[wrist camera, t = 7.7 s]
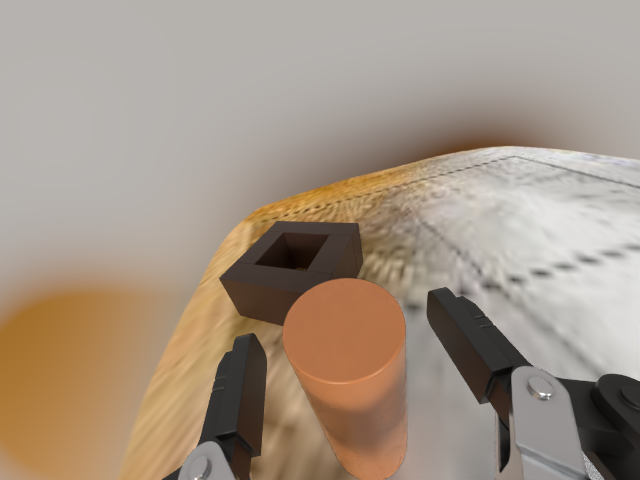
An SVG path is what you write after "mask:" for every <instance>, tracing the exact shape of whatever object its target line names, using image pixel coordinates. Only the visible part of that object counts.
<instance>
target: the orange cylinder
mask: <svg viewBox="0 0 640 480" xmlns="http://www.w3.org/2000/svg"><path fill="white" fill-rule="evenodd" d="M282 337H283V345H284V349H285V352H286V355H287V357H288V359H289V361H290V363H291V365H292V367H293V369H294V371H295V373H296V375H297V377H298V379H299V381H300V383H301V385H302V388H303V390H304V392H305V394H306V396H307V398H308V400H309V402H310V404H311V406H312V408H313V410H314V412H315V414H316V416H317V418H318V420H319V422H320V424H321V426H322V428H323V430H324V432H325V435H326V437H327V439H328V441H329V443H330V445H331V447H332V449H333V451H334V453H335V455H336V457H337V459H338V460H339V462H340V463H341V465H342V466H343V467H344V468H345V469H346V470H347V471H348V472H349V473H350V474H351V475H353V476H355V477H356V478H358V479H361V480H384V479H386V478H388V477H390V476H391V475H392V474H393V473H395V472H396V470H397V469H398V468H399V466H400V465H401V463H402V461H403V459H404V456H405V453H406V448H407V390H406V326H405V319H404V315H403V312H402V310H401V307H400V306H399V304H398V303H397V301H396V300H395V299H394V297H393V296H392V295H391V294H390V293H389V292H387V291H386V290H385V289H383V288H382V287H380V286H378V285H376V284H374V283H372V282H369V281H366V280H361V279H354V278H342V279H335V280H330V281H327V282H324V283H321V284H319V285H317V286H315V287H313V288H311V289H309V290H308V291H307V292H305V293H304V294H303V295H302V296H300V297H299V298H298V299H297V300H296V302H295V303H294V304H293V305H292V307H291V308H290V310H289V312H288V314H287V316H286V319H285V322H284V326H283V334H282Z"/></svg>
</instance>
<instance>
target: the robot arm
mask: <svg viewBox="0 0 640 480" xmlns="http://www.w3.org/2000/svg"><path fill="white" fill-rule="evenodd" d="M427 318H428V321H429V323H430V326H431V327H432V329H433V331H434V332H435V334H436V335H437V337H438V338H439V340H440V342H441V343H442V345H443V346H444V348H445V350H446V351H447V353H448V354H449V356H450V358H451V359H452V361H453V362H454V364H455V366H456V367H457V369H458V370H459V372H460V374H461V375H462V377H463V378H464V380H465V381H466V383H467V385H468V386H469V388H470V389H471V391H472V393H473V394H474V396H475V397H476V399H477V401H478V402H479V404H484V403H488V402H490V403H491V405H492V406H493V408H494V409H495V480H590V478H589V476H588V474H587V471H586V467H585V462H584V458H583V453H582V451H583V452H584V453H585V455H586V456H587V457H588V459H589V460H590V461H591V462H592V464H593V465H594V466H595V468H596V469H597V470H598V471H599V473H600V474H601V475H602V477H603V478H604V479H605V480H640V381H637V380H635V379H633V378H630V377H627V376H624V375H619V374H606V375H603V376H602V377H601V378H600V379H599V380H598V381H597V382H589V381H579V380H569V379H562V378H557V377H554V376H552V375H551V374H549V373H548V372H546V371H544V370H542V369H539V368H536V367H534V366H533V365H531V364H530V363H529V362H528V361H527V360H526V359H525V358H524V357H523V356H522V355H521V354H520V353H519V351H518V350H517V349H516V348H515V347H514V346H513V345H512V344H511V343H510V342H509V340H508V339H507V338H506V337H505V336H504V335H503V334H502V333H501V332H500V331H499V329H498V328H497V327H496V326H494V325H493V323H492V322H491V321H490V320H489V318H488V317H486V316H485V314H484V313H483V312H482V311H481V310H480V309H479V307H478V306H477V305H476V304H475V303H473V302H471V301H470V300H468V299H466V298H465V297H463V296H461V297H457V298H456V297H455V295H454V294H453V293H452V292H451V291H450V290H449V289H448V288H447V287H444V288H440V289H436V290H432V291H429V292H428V298H427ZM266 374H267V358H266V354H265V351H264V349H263V347H262V346H261V344H260V342H259V341H258V339H257V337H256V335H255V334H254V333H251V334H247V335H242V336H238V337H236V338H235V341H234V345H233V350H232V351H230V352H226V353H225V355H224V357H223V358H222V360H221V362H220V363H219V365H218V369H217V373H216V377H215V381H214V385H213V389H212V390H213V392H212V393H211V397H210V401H209V405H208V409H207V413H206V417H205V421H204V425H203V429H202V433H201V436H200V440H199V442H198V445H197V447H196V448H195V449H194V450H193V451H192V452H191V453H190V454H189V456H188V457H187V458H186V460H185V462H184V463H183V465H182V466H181V467H180V468H179V469H177V470H176V471H174V472H173V473H171V474H170V475H168V476H167V477H165V478H164V479H162V480H254V478H253V476H252V474H251V473H250V466H251V458H252V457H257V456H261V446H262V431H263V417H264V402H265V388H266Z"/></svg>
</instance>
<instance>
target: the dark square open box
mask: <svg viewBox="0 0 640 480" xmlns="http://www.w3.org/2000/svg"><path fill="white" fill-rule="evenodd" d="M362 263H363V255H362V248H361V240H360V233H359V225H358V223H327V222H289V221H277V222H276V223H275V224H274V225H273V226H272V227H271V228H270V229H269V230H268V231H267V232H266V233H265V234H264V235H263V236H261V237H260V238H259V239H258V240H257V241H256V242H255V243H254V244H253V245H252V246H251V247H250V248H249V249H248V250H247V251H246V252H245V253H244V254H243V255H242V256H241V257H240V258H239V259H238V260H237V261H236V262H235V263H234V264H233V265H232V266H231V267H230V268H229V269H228V270H227V271H226V272H225V273H224V274H223V275H222V276H221V277H220V278H219V279H220V281H221V283H222V284H223V286H224V288H225V290H226V291H227V293H228V295H229V297H230V298H231V300H232V302H233V303H234V305H235V307H236V309H237V310H238V312H239V314H240V315H242V316H246V317H250V318H254V319H258V320H262V321H266V322H270V323H273V324H277V325H281V326H284V322H285V319H286V316H287V314H288V312H289V310H290V308H291V307H292V305H293V304H294V303H295V302H296V300H297V299H298V298H299V297H300V296H302V295H303V294H304V293H305V292H307V291H308V290H309V289H311V288H313V287H315V286H317V285H319V284H321V283H324V282H327V281H330V280H335V279H342V278H354V279H356V278H357V276H358V274H359V271H360V269H361V266H362ZM295 267H297V268H305V269H307V271H300V270H294V268H295Z"/></svg>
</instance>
